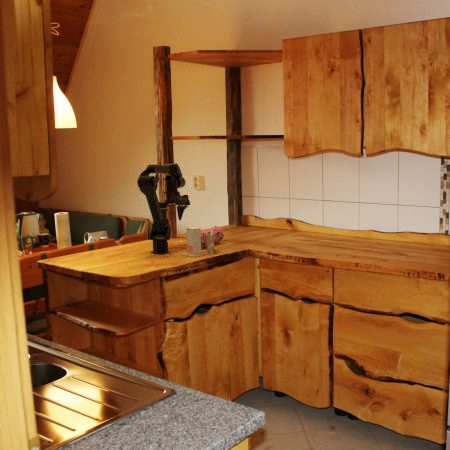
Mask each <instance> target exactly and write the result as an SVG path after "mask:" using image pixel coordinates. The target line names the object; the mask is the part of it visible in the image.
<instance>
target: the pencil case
mask: <svg viewBox="0 0 450 450" xmlns="http://www.w3.org/2000/svg"><path fill="white" fill-rule="evenodd" d="M208 231H214V244H217V243H220V242H221V241H222V240H223V239H224V236H225V235H224V231H223V229H221V228H220V227H219V226H216V225H215V226H212V227H210V228H209V229H206V230H203V231H200V234H201V250H202V249H203V248H205V247H206V248H207V235H208Z"/></svg>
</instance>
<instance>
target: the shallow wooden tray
mask: <svg viewBox="0 0 450 450" xmlns="http://www.w3.org/2000/svg"><path fill="white" fill-rule="evenodd" d="M206 248H207V249H206V253H208V255H214V251H215V243H214V231H208V235H207V246H206Z"/></svg>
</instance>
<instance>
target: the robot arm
mask: <svg viewBox="0 0 450 450" xmlns="http://www.w3.org/2000/svg"><path fill="white" fill-rule="evenodd" d="M151 174H155V175H151ZM159 174H162V175H163V176H165V177H164V179H163V181H165V191H163V192H164V195H165V199H164V201H159V198H158V195H157V189H158V187H159V186H158V184H159V181H160V175H159ZM138 176H139V177H138V178H137V182H136V183H137V187H138V188H139V191H140V192H141V193H142V194H143V195H144V196H145V198H146V201H147V204H148V209H149V212H150V214H151V215H150V216H151V219H152V224H151V230H150V233H149V235H148V239H149V241H152V251H151V252H150V253H151V254H156V255H163V254H168V253H170V252H171V251H169V242H168V241H169V240H171V237H172V236H171V235H172V227H171V224H170V219H169V218H167V212H168V211H169V208H167V207H172V206H176V212H177V218H178V221H182V218H183V215H184V212H185V210H186V209H187V208H189V206H191V201H190V199H189V198H190V197H189V195H188V194H183V195H181V193H180V191H179V189H181V188H184V187H185V186H186V179H185V178H184V177H183V174H182V171H181V168H180V166H179V164H178V163H177V162H176V163H164V164H162V165H161V164H148V165H146V169H144V170H143V171H142V172H141V173H139V175H138Z"/></svg>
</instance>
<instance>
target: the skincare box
mask: <svg viewBox="0 0 450 450" xmlns="http://www.w3.org/2000/svg"><path fill="white" fill-rule="evenodd" d="M185 231H186V253H190V254H193V255H196V254H201V252H202V249H201V234H200V232H201V227H197V226H188V227H187V226H186V229H185Z"/></svg>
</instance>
